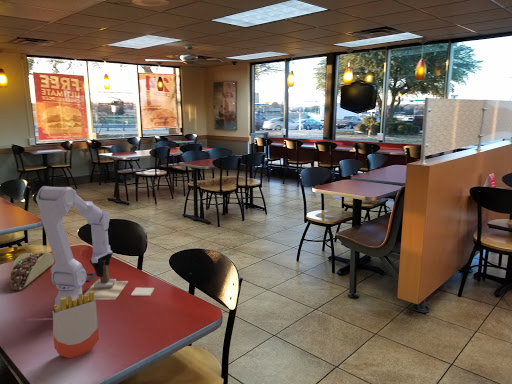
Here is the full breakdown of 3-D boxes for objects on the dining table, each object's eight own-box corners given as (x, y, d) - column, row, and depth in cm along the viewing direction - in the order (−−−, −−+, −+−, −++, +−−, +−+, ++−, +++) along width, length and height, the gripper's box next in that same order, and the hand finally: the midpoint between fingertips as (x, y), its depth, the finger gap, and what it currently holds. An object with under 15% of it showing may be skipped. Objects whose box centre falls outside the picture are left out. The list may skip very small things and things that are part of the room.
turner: (112, 288, 153) (110, 268, 152) (94, 288, 153) (92, 268, 152) (116, 282, 158) (115, 263, 157) (98, 282, 158) (97, 263, 156)
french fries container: (55, 355, 112) (48, 296, 108) (93, 340, 119) (89, 284, 115) (59, 362, 108) (53, 302, 105) (99, 347, 116) (94, 290, 112)
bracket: (70, 269, 174) (69, 263, 173) (104, 270, 173) (103, 264, 173) (53, 284, 159) (52, 277, 159) (90, 284, 159) (89, 278, 159)
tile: (149, 294, 147) (154, 287, 152) (131, 294, 147) (136, 287, 153) (149, 298, 147) (154, 291, 153) (131, 298, 147) (136, 291, 153)
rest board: (115, 300, 144) (115, 299, 144) (79, 300, 144) (79, 299, 144) (128, 282, 160) (128, 281, 160) (96, 282, 160) (96, 281, 159)
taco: (60, 264, 178) (58, 243, 176) (29, 291, 152) (26, 266, 150) (38, 265, 178) (35, 243, 176) (3, 292, 151) (0, 267, 149)
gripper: (103, 246, 145) (106, 281, 148) (117, 234, 159) (119, 266, 162) (84, 246, 145) (87, 281, 147) (99, 234, 159) (101, 266, 162)
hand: (102, 273), depth 155 cm, fingers open, 5 cm apart
